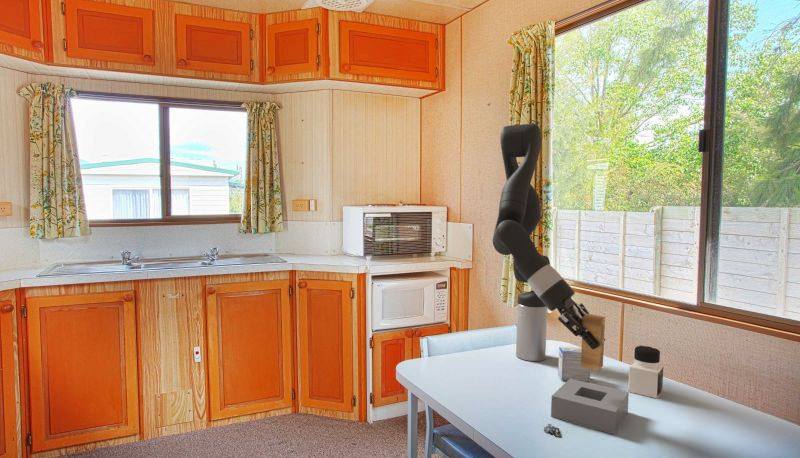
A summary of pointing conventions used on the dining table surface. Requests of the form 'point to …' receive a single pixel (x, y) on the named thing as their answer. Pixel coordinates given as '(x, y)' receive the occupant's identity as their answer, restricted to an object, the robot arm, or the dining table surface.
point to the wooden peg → (597, 328)
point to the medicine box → (572, 365)
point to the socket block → (590, 405)
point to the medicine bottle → (646, 372)
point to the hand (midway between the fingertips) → (599, 344)
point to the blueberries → (552, 430)
